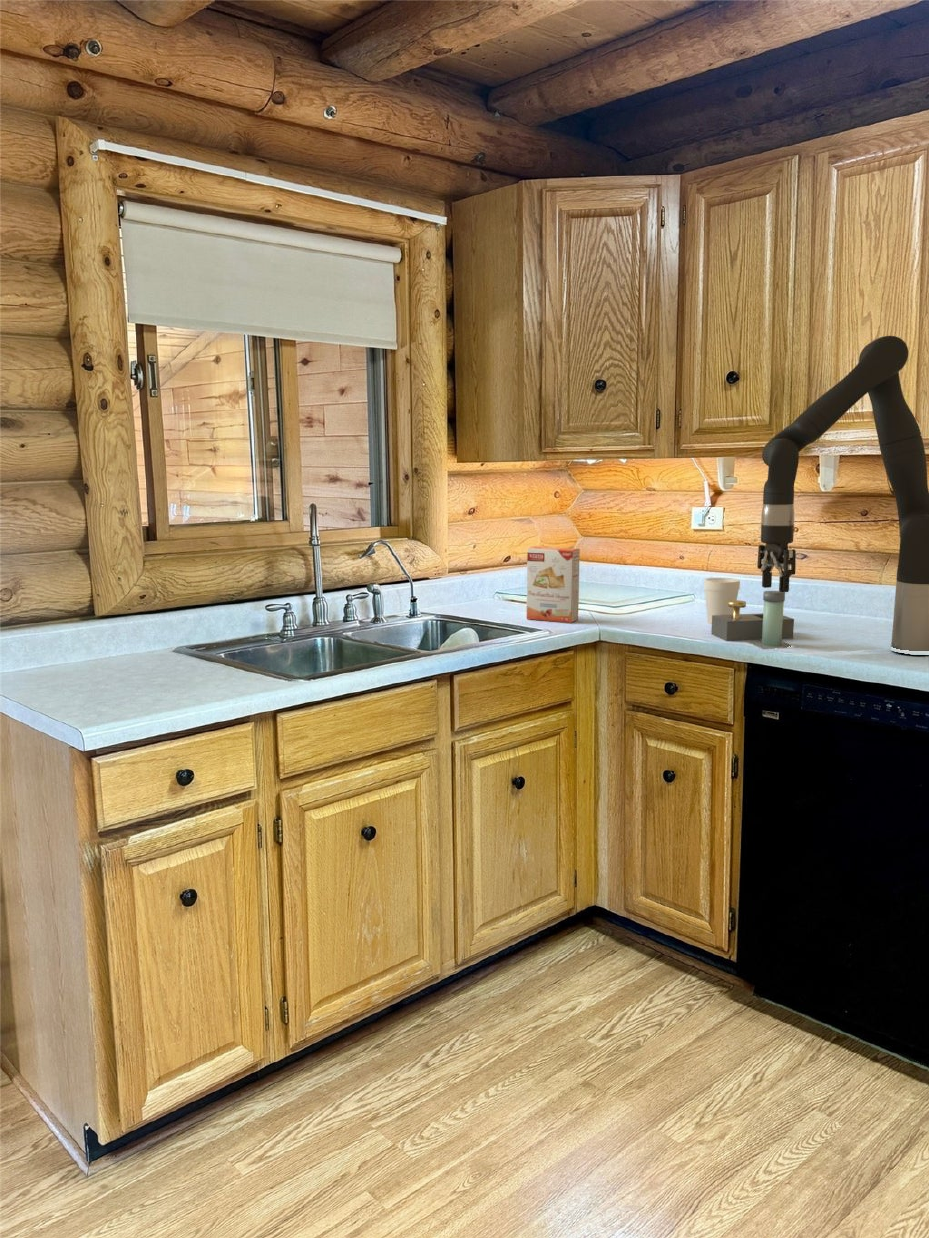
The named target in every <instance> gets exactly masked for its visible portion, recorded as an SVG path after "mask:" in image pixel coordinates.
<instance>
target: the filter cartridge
mask: <svg viewBox="0 0 929 1238" xmlns="http://www.w3.org/2000/svg"><path fill="white" fill-rule="evenodd" d="M762 597H763V598H762V600H763V611H762V612H763V630H762V640H761V641H762V645H765V646H781V642H782V641H783V639H782V624H783V615H784V607H785V606H784V603H785V601H786V599H785V598H786V592H780V591H779V590H765V591H763V596H762Z"/></svg>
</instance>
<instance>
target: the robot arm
mask: <svg viewBox="0 0 929 1238" xmlns="http://www.w3.org/2000/svg"><path fill="white" fill-rule="evenodd" d="M908 359H909V348H908V345H907V343H906V342H905V340H903V339H902V338H901V337H898V336H895V335H884V336H881V337H878V338H875V339H874V340H872V341H871V342H869V343H868V344H866V345H865V346H864V347H863V348H862V350H861V352H860V354H859V357H858V363H857V364H856V365H855V366H854V368H853V369H851V371H850V372H848V374H846V375H845V376H844V377H843V378H842V379H841V380H840V381H838V383H836V384H835V385H833V386H832V387H831V388H830V389H828V390H827V391H826V392H825V393H823V394H822V395H821V396H820V397H819V398H817V399H816V400H815V401H814V402H812V403H811V404H810V405H809V406H808V407H807V408H806V409H805V410H804V411H803V412H802V413H801V414H799V416H798V417H797V418H795V420H794V421H793V422H792V423H790V424H789V425H788V426H786V427H785V428H784V429H782V430H781V431H780V432H778V433H777V434H776V435H774V436H773V437H772V438H771V439H770V440H769V441H768V442H766V444H765V446H764V447H763V449H762V451H761V456H762V457H761V459H762V461H763V463H764V464H765V466H767V467H768V471H767V480H766V481H765V482H764V485H763V492H762V493H763V494H762V496H763V498H762V510H761V517H760V518H761V521H760V523H761V524H760V542H761V543H763V544H759V545H758V550H757V567H756V568H757V569H759V570H760V572H761V573H762V575H761V576H762V577H761V578H762V579H761V587H762V588H764V589H767V588H771V587H772V583H773V582H772V579H773V572H772V571H773V569H774V568H775V569H776V570H778V575H779V579H778V585H779V586H778V591H780V592H785V593H788V592H789V591H790V577H791V576H792V575H796V569H797V568H796V566H797V565H796V563H797V562H796V560H797V559H796V557H797V555H796V553H797V552H796V549H791V548H789V544H792V543H793V542H794V534H795V508H794V507H795V482H796V478H797V474H798V468H799V460H800V453H799V452H801V451H802V450H803V449H804V448H805V447H807V446H808V445H810V444H813V443H814V442H817V441H818V439H820V438H821V437H822V436H823V435H824V434H825V433H826V432H827V431H828V430H829V429H831V428H832V426H834V425H835V424H836V423H837V422H838V421H839V420H840V419H841V418H842V417H843V416H844V415H845V414H846V413H847V412H848V411H849V410H850V409H851V408H852V407H853V406H854V405H855V404H857V402H859V401H860V400H861V399H862V398H863V397H864V396H865V395H867V394H868V397H869V400H870V404H871V408H872V414H873V419H874V421H873V422H874V425H875V429H876V430H875V431H876V434H877V440H878V446H879V451H880V455H881V458H882V462H883V465H884V470H885V472H886V475H887V476H886V477H887V479H888V481H889V484H890V487H891V489H892V492H893V494H894V497H895V502H896V509H897V516H898V526H899V527H898V528H899V531H898V532H899V539H900V540H899V553H898V564H897V569H896V570H897V571H896V582H895V593H894V594H895V596H894V605H893V607H894V609H893V619H892V630H891V631H892V633H891V644H890V648H891V647H893V648H896V649H900V650H909V651H929V486H928V485H929V483H928V466H927V465H928V463H927V455H926V451H925V445H924V442H923V437H922V432H921V428H920V426H919V423H918V422H917V419H916V418H915V416H914V414H913V412H912V410H911V409H910V407H909V405H908V403H907V402H906V399H905V397H904V394H903V391H902V390H903V389H902V385H901V380H900V379H901V378H900V372H901V370H902V369H904V367H905V365H906V364H907V362H908Z"/></svg>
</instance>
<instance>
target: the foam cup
mask: <svg viewBox="0 0 929 1238" xmlns="http://www.w3.org/2000/svg"><path fill="white" fill-rule="evenodd" d="M703 581H704V582H703V589H704V594H705V597H704V598H705V607H706V609H705V610H706V618H707V623H708V624H709V625H712V615H732V614H733V607H728V601H731V600H738V594H739V591H740V588H741V587H740V586H741V580H740V579H737V578H731V577H707V578H704V580H703Z"/></svg>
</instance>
